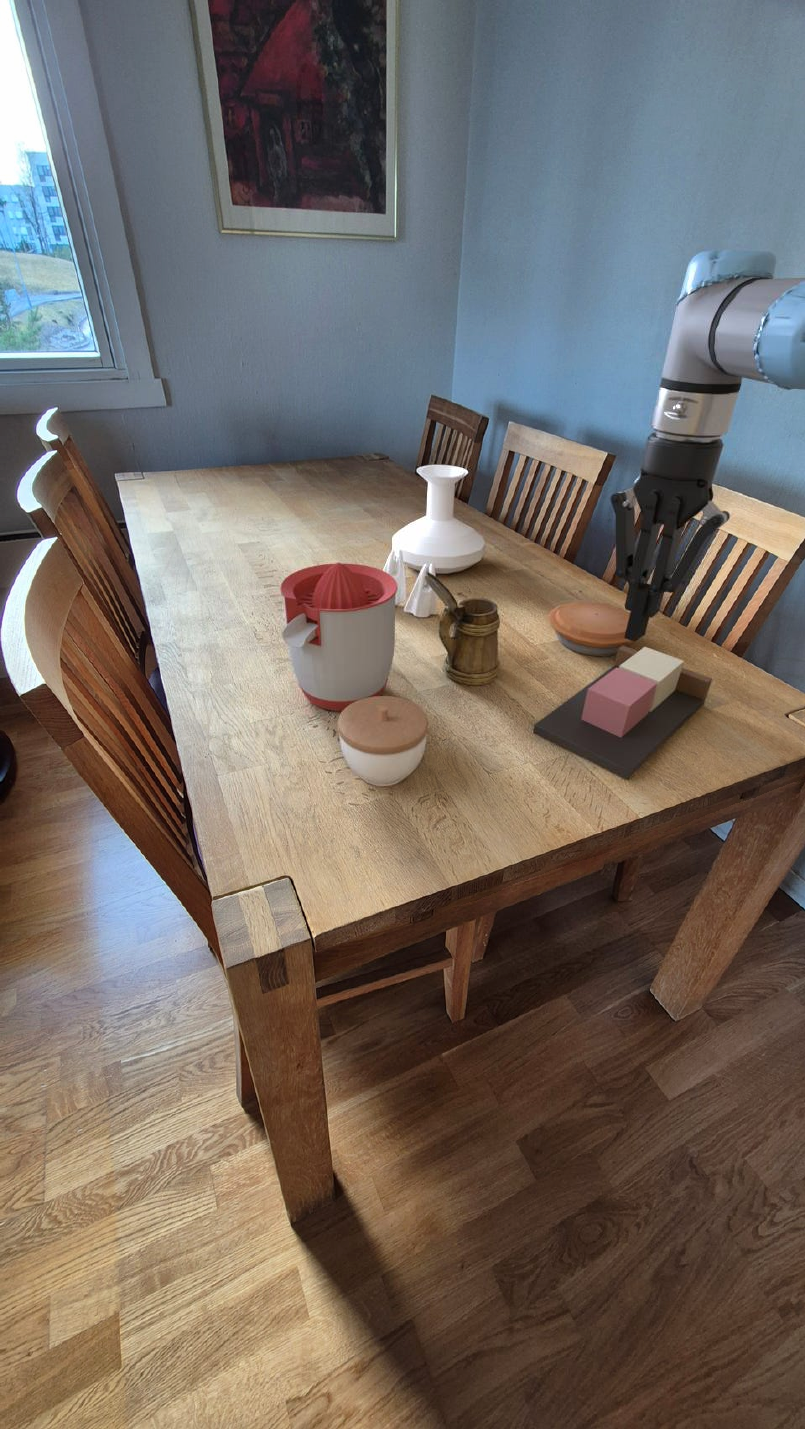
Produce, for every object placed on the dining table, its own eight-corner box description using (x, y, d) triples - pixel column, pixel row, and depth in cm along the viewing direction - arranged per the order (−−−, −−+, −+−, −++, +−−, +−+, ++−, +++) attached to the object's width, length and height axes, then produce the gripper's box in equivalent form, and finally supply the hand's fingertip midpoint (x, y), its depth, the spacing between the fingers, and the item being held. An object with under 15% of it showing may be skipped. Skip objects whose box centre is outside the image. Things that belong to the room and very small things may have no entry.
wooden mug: (407, 671, 98) (410, 561, 88) (479, 652, 104) (490, 547, 94) (436, 698, 92) (443, 584, 82) (511, 677, 97) (526, 567, 87)
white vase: (458, 589, 125) (465, 490, 114) (373, 568, 133) (373, 474, 122) (497, 558, 139) (508, 468, 128) (419, 541, 147) (422, 455, 136)
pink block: (648, 713, 87) (657, 683, 84) (621, 738, 82) (629, 706, 80) (609, 697, 91) (616, 667, 88) (580, 719, 86) (587, 688, 83)
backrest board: (703, 704, 92) (712, 678, 90) (627, 780, 78) (635, 752, 75) (616, 670, 100) (622, 645, 97) (532, 733, 85) (537, 706, 83)
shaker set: (371, 606, 118) (371, 549, 111) (383, 598, 121) (383, 542, 114) (428, 621, 113) (430, 562, 107) (438, 612, 116) (441, 555, 110)
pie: (642, 668, 101) (650, 640, 98) (544, 657, 103) (549, 629, 100) (632, 625, 113) (639, 600, 110) (546, 616, 115) (550, 591, 113)
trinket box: (442, 779, 77) (447, 717, 72) (367, 811, 72) (366, 747, 67) (396, 735, 84) (397, 675, 79) (325, 761, 80) (321, 700, 74)
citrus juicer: (259, 700, 91) (241, 569, 79) (339, 654, 102) (334, 534, 91) (339, 741, 83) (333, 602, 72) (416, 686, 95) (421, 560, 83)
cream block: (675, 690, 92) (684, 661, 90) (650, 712, 88) (660, 681, 85) (637, 675, 96) (645, 646, 93) (611, 695, 91) (619, 665, 88)
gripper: (612, 430, 67) (573, 629, 80) (738, 450, 59) (672, 665, 73) (643, 421, 71) (601, 611, 85) (763, 439, 64) (697, 643, 77)
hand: (634, 636), depth 79 cm, fingers closed
